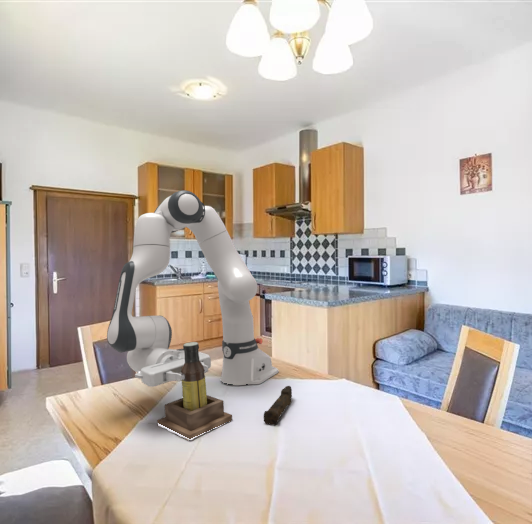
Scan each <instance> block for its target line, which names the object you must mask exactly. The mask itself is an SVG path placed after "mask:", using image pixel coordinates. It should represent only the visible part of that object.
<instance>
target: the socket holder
mask: <svg viewBox="0 0 532 524" xmlns="http://www.w3.org/2000/svg"><path fill="white" fill-rule="evenodd" d="M206 395H207V405H205V406H203V407H201V408H198V409H196V410H194V411H189V410H186V409H184V405H183V397H181V398H178V399H176V400H173V401H170V402H169V403H166V404H164V417H162V418H160V419H157V423H159V424H161V425H163V426H165V427H167V428H169V429H171V430H173V431H175V432H177V433H179V434H181V435H183V436H185V437H187V438H189V439H191V438H193V437H195V436H198V435H200V434H202V433H204V432H207V431H209V430H211V429H213V428H215V427H218V426H220V425H222V424H224V423H226V422H228V423H230V422H232V421H233V414H231V413H228V412H225V404H224V403H225V402H224V400H223V399H220V398H216V397H213V396H211V395H208V394H206ZM231 420H232V421H231ZM229 421H230V422H229ZM157 423H156V424H157ZM226 424H227V423H226ZM224 425H225V424H224ZM222 426H223V425H222ZM220 427H221V426H220ZM218 428H219V427H218Z"/></svg>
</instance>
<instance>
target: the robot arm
mask: <svg viewBox="0 0 532 524" xmlns="http://www.w3.org/2000/svg"><path fill="white" fill-rule="evenodd" d="M185 228H187V229H189V231H191V233H192V234H193V235H194V236H195V240H196V241H197V243H198V244H197V245H198V246H199V248H200V250H201V252H202V254H203V256H204V258H205V260H206V262H207V264H208V266H209V267H210V269H211V271H212V272H213V274H214V275H215V277H216V278H217V293H218V301H219V308H220V313H221V319H222V321H221V322H222V323H221V324H222V338H223V339H222V342H221V343H222V345H221V346H222V354H223V355H222V357H223V358H222V367H221V376H220V379H221V381H222V382H224V383H227V384H226V385H228V384H233V385H232V386H247V385H246V384H248V385H261V384H262V383H264V382H266V381H267V380H269V379H270V378H272V377H273V376H275V375H276V374H278V373H279V372H280V370H279V369H278V368H277V367H275V366H273V363H272V358H271V356H270V355H269V354H267V353H266V352H264V351H263V350H262V349H260V348H259V346H258V345H262V344H263V339H262V338H259V337H257V338H255V333H254V332H255V328H254V327H255V326H254V316H253V313H252V312H253V311H252V309H251V305H250V301H251V300H252V299H254V298H255V296H256V295H257V292H258V282H257V281H256V279H255V277H254V276H253V275H252V273H251V271H250V269H249V268H248V266H247V264H246V262H245V261H244V260H243V257H241V255H240V253H239V252H238V250H237V248H236V246H235V243H234V242H233V240H232V238H231V236H230V233H229V232H228V230H227V226H226V225H225V223H224V222H223V220H222V218H221V217H220V215H219V214H218V213H217V211H216V210H215V209H214V208H213V207H212V206H211V205H205V204H204V203H203V202H202V201H201V199H200V198H199V196H197V194H195V193H194V192H193V191H190V190H184V189H183V190H178V191H175V192H174V193H173V194H171V195H169V196H167V197H166V198H165V199H163V201H162V202H161V204H159V205H158V206H157V207H156V208H155V210H154V212H146V213H144V214H141V215H140V216H139V217H138V218H137V219H136V223H135V227H134V234H133V246H132V247H133V248H132V249H133V251H132V255H131V258H130V259H129V261H127V262H126V263H124V265H123V267H122V269H121V272H120V275H119V280H118V284H117V289H116V295H115V301H114V305H113V311H112V315H111V318H110V321H109V323H108V324H109V325H108V328H107V333H106V339H107V343H108V344H109V346H110V347H111V348H112V349H113V350H115V351H116V352H118V353H120V354H121V353H126V352H127V353H126V362H127V364H128V366H129V367H130V369H132V370H133V371H134V372H136V373H135V374H134V377H135V378H136V379H141V383H143V384H144V385H146V386H147V387H150V388H151V387H157V386H161V385H163V384H166V383H169V382H175V381H177V382H182V381H183V380H185V374H184V373H181V370H182V367H183V365H184V363H185V353H184V350H183V348H177V349H174V348H173V349H172V348H170V345H171V343H172V337H173V329H172V327H171V324H170V323H169V321H168V320H167V318H166V317H164V315H144V316H143V315H141V316H137V315H136V316H133V314H132V313H133V306H134V301H135V297H136V291H137V288H138V286H139V284H141V283H142V282H143V281H145V280H147V279H150V278H153V277H155V276H158V275H159V274H161V273H163V272H164V271H165V270H166V269H167V267H168V266H169V264H170V260H171V259H170V258H171V240H170V239H171V234H172V233H176V232H178V231H180V230H182V229H185ZM198 352H199V361H200V362H201V363H202V365H203V367H204V374H206V373H209V369H211V367H212V360H211V356H210V354H208V353H205V352H201V351H198ZM221 381H220V382H221ZM222 382H221V383H222ZM224 383H223V384H224Z"/></svg>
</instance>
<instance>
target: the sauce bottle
mask: <svg viewBox="0 0 532 524" xmlns="http://www.w3.org/2000/svg"><path fill="white" fill-rule="evenodd" d="M199 346H200V345H199V342H197V341H192V342H191V341H190V342H186V343H183V345H182V349H183V350H184V353H185V363H184V365H183V367H182V370H181V373H184V374H185V380H183V381H181V389H182V398H183V405H184V409H186V410H189V411H194V410H196V409H198V408H201V407H203V406H205V405H207V395H208V394H207V384H206V383H207V382H206V373H204V367H203V365H202V363H201V362H200V361H199V352H200V351H199V348H200V347H199Z"/></svg>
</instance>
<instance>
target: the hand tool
mask: <svg viewBox="0 0 532 524" xmlns="http://www.w3.org/2000/svg"><path fill="white" fill-rule="evenodd" d="M292 391H293V390H292V387H291V385H287V386H285V387H284V388H282V389H281V390H280V395H279V397H278V398H276V400H275V401H274V403H272V405H271V406H270V408H268V410H266V411H265V410H264V413H263V421H264V423H265V424H266V425H269V426H276V425H277V424H278V422H279V421H280V417H281V416H282V415H283V413H284V412H285V411H286V409H287V407H288V406H291V403H292V397H293V392H292Z"/></svg>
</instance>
